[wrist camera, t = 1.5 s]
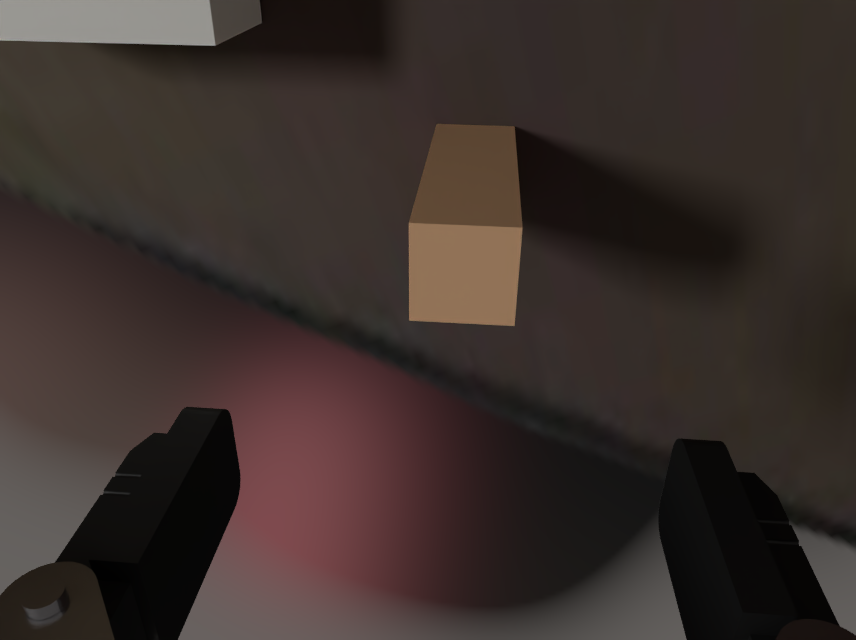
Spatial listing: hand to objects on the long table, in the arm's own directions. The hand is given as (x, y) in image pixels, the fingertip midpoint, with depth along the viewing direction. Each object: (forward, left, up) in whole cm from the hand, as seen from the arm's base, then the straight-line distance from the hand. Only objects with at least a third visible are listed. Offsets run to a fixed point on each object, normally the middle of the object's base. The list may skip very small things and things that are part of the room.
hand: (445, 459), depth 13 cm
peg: (0, 0, -18) cm, 18 cm away
